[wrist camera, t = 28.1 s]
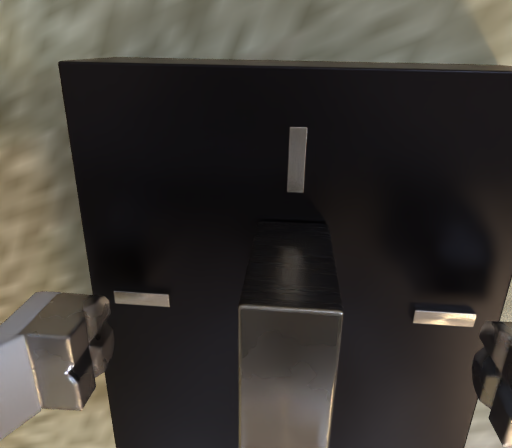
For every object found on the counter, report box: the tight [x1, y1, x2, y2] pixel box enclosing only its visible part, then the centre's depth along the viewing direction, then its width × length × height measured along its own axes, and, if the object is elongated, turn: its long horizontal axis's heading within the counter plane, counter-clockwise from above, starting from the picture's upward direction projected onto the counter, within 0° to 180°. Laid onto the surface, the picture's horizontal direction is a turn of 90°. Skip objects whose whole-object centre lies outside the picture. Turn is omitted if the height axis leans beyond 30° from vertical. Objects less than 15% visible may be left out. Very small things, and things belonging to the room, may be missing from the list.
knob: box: [238, 221, 344, 448], centre depth 9 cm, size 4×2×4 cm, turn 179°
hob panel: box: [58, 57, 512, 448], centre depth 12 cm, size 11×10×3 cm
